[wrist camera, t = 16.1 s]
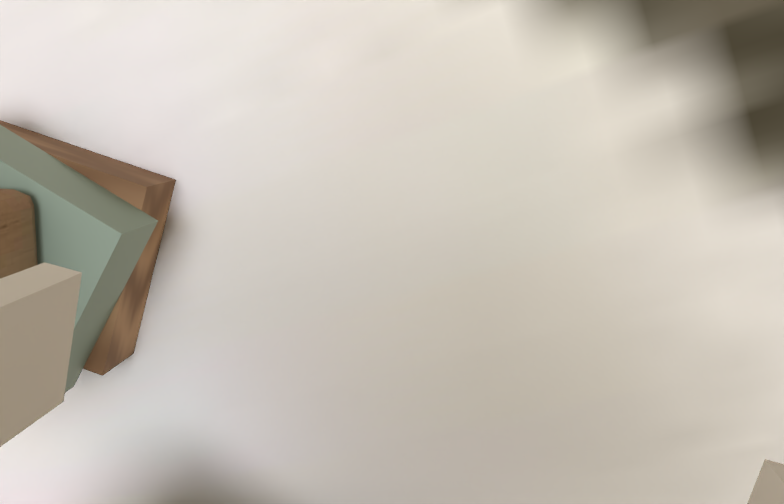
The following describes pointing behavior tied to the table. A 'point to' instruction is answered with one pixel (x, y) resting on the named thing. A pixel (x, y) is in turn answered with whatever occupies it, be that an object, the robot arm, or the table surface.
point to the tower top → (77, 234)
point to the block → (16, 232)
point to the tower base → (154, 200)
